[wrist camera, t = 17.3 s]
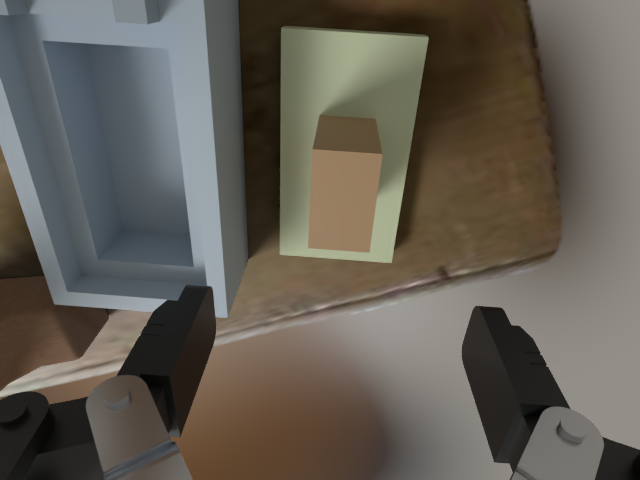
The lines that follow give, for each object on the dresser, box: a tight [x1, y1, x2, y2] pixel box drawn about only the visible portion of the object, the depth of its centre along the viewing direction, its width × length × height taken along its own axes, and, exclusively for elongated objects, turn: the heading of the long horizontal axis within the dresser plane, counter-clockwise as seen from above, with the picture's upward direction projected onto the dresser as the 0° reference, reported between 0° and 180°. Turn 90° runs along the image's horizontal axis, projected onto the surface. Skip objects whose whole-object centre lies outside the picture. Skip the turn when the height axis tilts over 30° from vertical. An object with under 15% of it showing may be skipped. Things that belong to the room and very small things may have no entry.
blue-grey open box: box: [0, 0, 248, 318], centre depth 21 cm, size 10×22×7 cm, turn 177°
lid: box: [280, 26, 429, 263], centre depth 23 cm, size 7×13×7 cm, turn 177°
